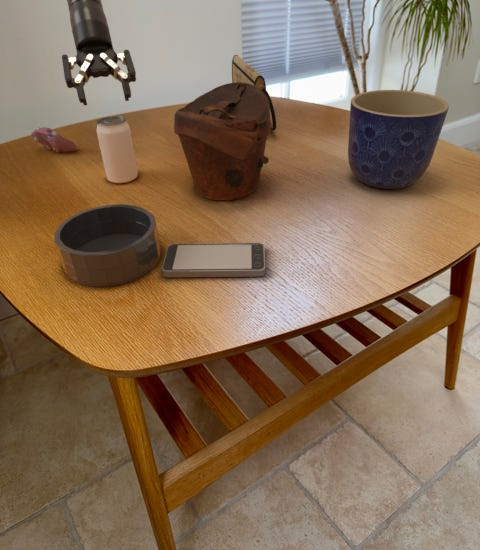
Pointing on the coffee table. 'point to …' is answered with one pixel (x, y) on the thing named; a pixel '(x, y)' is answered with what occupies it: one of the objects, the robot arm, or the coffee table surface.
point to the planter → (393, 136)
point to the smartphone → (214, 260)
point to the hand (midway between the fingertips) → (106, 101)
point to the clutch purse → (250, 80)
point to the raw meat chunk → (52, 140)
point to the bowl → (108, 245)
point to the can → (117, 149)
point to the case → (225, 139)
